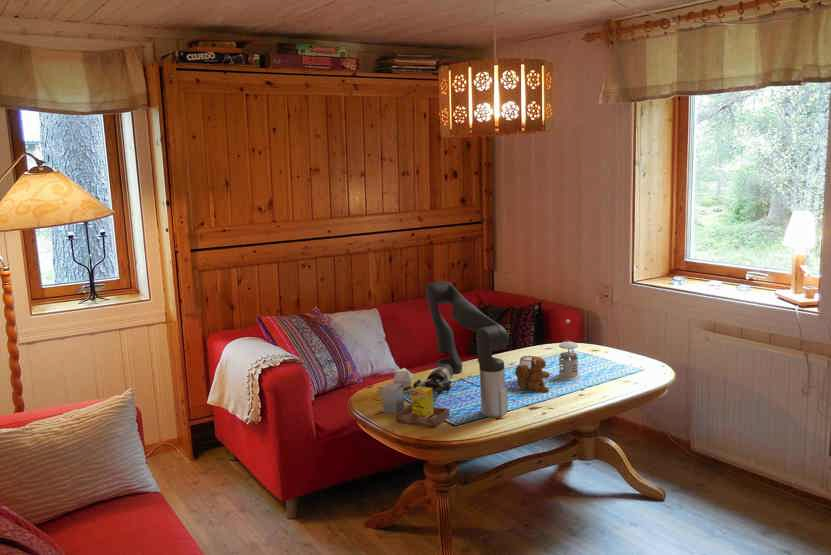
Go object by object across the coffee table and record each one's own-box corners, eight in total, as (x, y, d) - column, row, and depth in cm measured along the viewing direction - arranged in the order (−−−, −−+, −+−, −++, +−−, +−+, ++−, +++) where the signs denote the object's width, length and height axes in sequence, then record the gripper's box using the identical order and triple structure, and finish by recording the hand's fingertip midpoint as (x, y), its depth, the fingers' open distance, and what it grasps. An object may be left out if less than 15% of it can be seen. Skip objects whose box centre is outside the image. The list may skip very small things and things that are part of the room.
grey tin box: (404, 409, 274) (402, 384, 272) (396, 414, 269) (395, 389, 267) (390, 407, 277) (389, 382, 275) (383, 412, 271) (381, 387, 270)
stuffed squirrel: (550, 392, 283) (549, 361, 281) (515, 392, 286) (514, 361, 283) (549, 384, 293) (548, 353, 291) (515, 384, 295) (514, 354, 293)
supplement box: (412, 418, 261) (410, 390, 259) (420, 413, 266) (419, 385, 264) (425, 421, 258) (423, 392, 256) (434, 415, 263) (432, 387, 261)
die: (416, 390, 297) (418, 369, 301) (400, 385, 292) (402, 363, 296) (403, 393, 302) (405, 372, 307) (388, 388, 297) (390, 366, 302)
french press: (555, 379, 299) (554, 321, 295) (559, 371, 310) (558, 315, 306) (578, 380, 296) (578, 322, 292) (582, 372, 307) (581, 316, 302)
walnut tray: (449, 416, 263) (449, 408, 263) (435, 427, 253) (434, 419, 253) (412, 411, 271) (411, 403, 270) (396, 422, 261) (396, 414, 260)
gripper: (421, 368, 284) (409, 381, 268) (455, 370, 279) (445, 383, 264) (422, 386, 285) (410, 400, 270) (456, 388, 281) (446, 402, 265)
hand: (427, 391), depth 267 cm, fingers open, 8 cm apart
